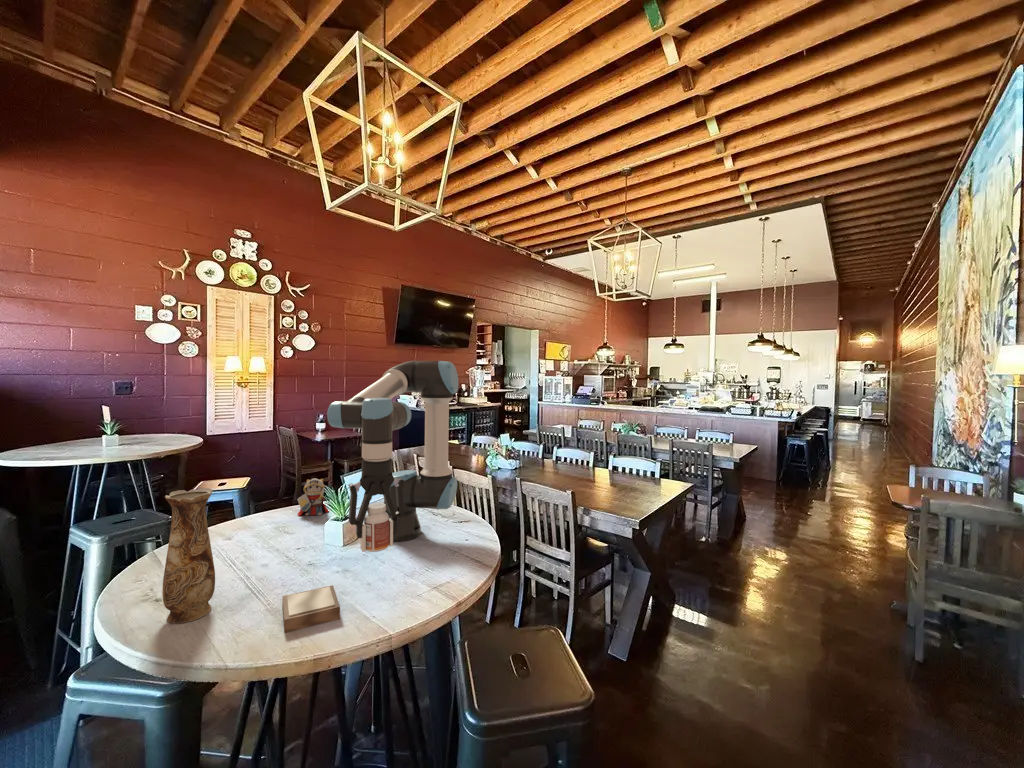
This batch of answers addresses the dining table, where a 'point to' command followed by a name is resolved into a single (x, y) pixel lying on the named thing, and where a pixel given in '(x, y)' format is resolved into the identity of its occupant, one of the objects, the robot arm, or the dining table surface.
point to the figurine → (312, 498)
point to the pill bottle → (377, 527)
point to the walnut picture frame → (310, 608)
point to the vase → (188, 558)
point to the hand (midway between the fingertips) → (376, 546)
